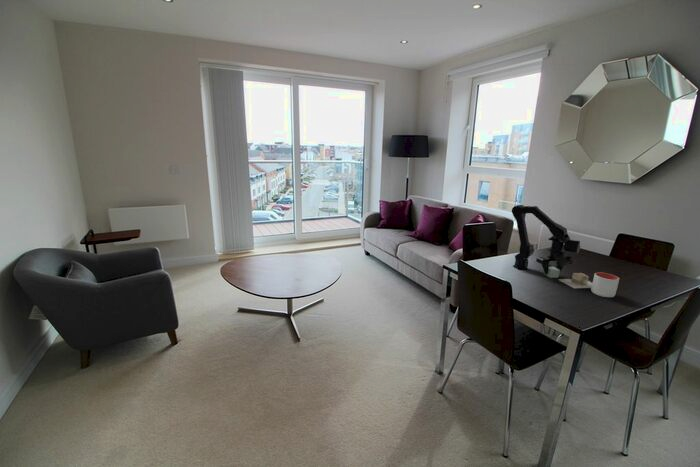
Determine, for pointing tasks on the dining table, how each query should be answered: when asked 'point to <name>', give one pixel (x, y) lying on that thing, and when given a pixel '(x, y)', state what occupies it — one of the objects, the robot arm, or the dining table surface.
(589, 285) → the white flat rectangular panel
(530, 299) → the dining table surface
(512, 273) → the dining table surface
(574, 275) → the maple block
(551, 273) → the sage block
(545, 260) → the robot arm
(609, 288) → the cup
